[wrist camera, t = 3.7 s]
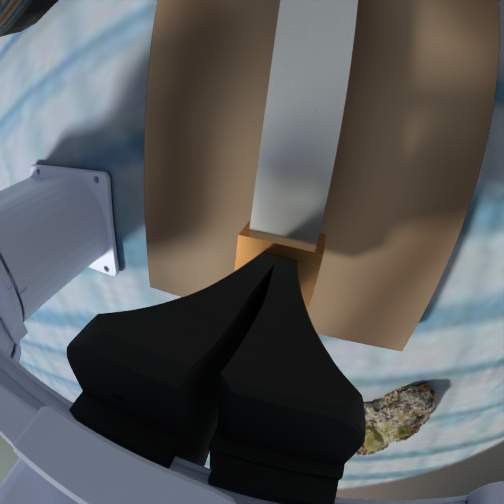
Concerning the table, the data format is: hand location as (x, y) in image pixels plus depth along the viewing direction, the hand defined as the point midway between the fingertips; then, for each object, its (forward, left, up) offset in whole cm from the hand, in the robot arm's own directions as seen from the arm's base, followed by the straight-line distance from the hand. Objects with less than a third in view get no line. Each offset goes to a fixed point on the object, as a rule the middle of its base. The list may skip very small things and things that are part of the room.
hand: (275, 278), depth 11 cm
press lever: (0, +7, -2) cm, 7 cm away
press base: (0, +6, -6) cm, 8 cm away
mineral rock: (+12, -15, -6) cm, 20 cm away
